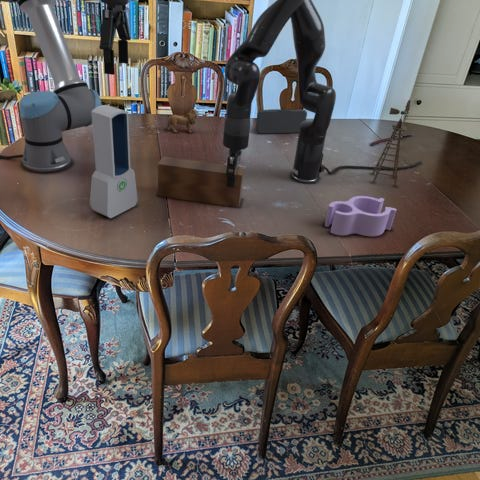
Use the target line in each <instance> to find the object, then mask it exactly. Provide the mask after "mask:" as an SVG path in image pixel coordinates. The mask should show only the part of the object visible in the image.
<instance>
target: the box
mask: <svg viewBox="0 0 480 480" xmlns="http://www.w3.org/2000/svg"><path fill="white" fill-rule="evenodd" d="M226 165H227V164H222V163H215V162H208V161H200V160H192V159H185V158H178V157H170V156H162V157H161V159H160V160H159V162H158V163H157V196H158V197H161V198H162V197H163V198H169V199H176V200H183V201H190V202H198V203H204V204H211V205H218V206H225V207H233V208H240V206H241V205H240V204H241V201H242V196H243V195H242V194H243V184H244V175H245V167H244V166H238V169H236V173H235V174H236V176H235V180H234V187H227V186H226V185H227V176H226V171H227V166H226ZM229 172H233V169H229Z"/></svg>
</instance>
